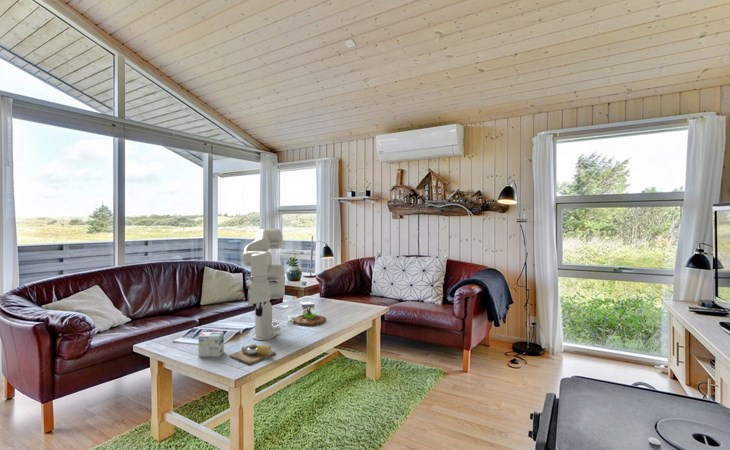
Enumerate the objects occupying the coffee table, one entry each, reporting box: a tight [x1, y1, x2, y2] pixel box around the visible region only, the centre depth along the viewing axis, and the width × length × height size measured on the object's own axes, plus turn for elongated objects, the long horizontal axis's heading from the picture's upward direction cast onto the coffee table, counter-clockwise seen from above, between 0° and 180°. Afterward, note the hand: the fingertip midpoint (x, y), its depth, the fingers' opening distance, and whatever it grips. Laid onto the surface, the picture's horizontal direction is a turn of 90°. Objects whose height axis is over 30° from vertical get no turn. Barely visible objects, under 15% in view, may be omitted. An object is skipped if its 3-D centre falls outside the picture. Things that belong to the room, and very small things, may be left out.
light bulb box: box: [197, 331, 225, 358], centre depth 185 cm, size 11×7×11 cm, turn 92°
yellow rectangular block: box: [241, 344, 272, 355], centre depth 184 cm, size 15×6×4 cm, turn 78°
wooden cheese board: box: [229, 343, 277, 366], centre depth 184 cm, size 16×16×5 cm
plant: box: [292, 305, 327, 327], centre depth 241 cm, size 20×20×11 cm
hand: (259, 315), depth 179 cm, fingers closed
